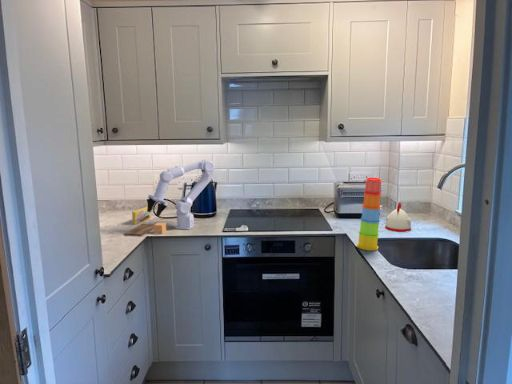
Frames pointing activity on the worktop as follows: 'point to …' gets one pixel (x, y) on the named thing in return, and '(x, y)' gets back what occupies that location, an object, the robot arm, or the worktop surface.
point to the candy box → (140, 215)
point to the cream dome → (398, 221)
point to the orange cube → (160, 228)
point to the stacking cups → (370, 215)
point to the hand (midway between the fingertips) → (153, 213)
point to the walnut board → (140, 230)
